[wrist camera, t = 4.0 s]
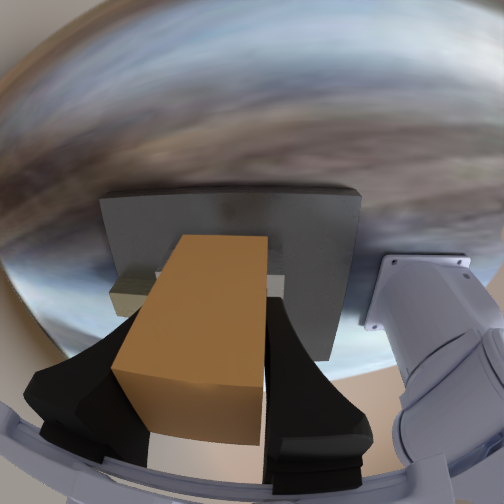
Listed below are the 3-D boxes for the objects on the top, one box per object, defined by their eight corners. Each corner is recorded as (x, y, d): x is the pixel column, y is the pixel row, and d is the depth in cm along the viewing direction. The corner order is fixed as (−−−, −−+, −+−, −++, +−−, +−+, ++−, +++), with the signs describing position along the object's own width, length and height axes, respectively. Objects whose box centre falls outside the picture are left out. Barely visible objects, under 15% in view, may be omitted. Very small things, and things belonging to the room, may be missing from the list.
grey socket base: (355, 189, 18) (377, 214, 15) (326, 349, 26) (332, 386, 23) (108, 192, 19) (76, 215, 16) (149, 341, 27) (136, 375, 24)
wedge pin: (267, 236, 13) (263, 386, 6) (265, 304, 15) (259, 445, 8) (183, 234, 13) (111, 367, 6) (191, 300, 15) (149, 431, 8)
